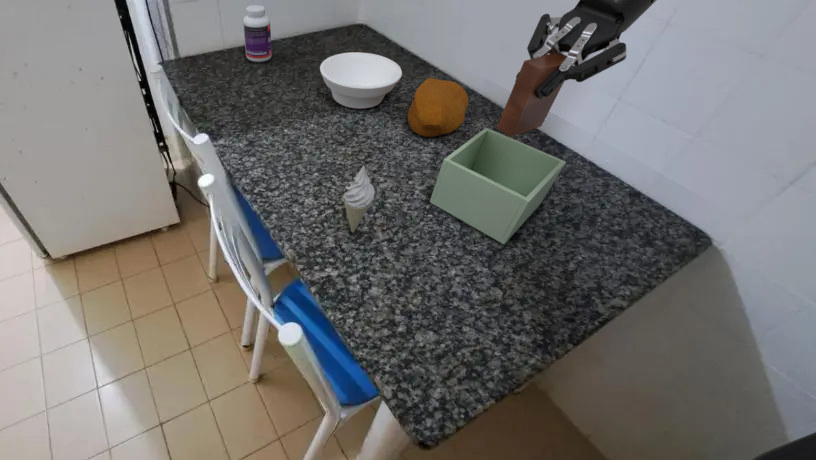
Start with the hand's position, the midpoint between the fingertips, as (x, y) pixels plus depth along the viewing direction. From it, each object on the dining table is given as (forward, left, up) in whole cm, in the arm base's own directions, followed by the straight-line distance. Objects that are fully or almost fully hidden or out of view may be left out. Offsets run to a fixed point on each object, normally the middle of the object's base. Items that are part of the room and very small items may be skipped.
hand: (528, 89), depth 58 cm
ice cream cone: (+12, +22, -25) cm, 35 cm away
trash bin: (-1, -3, -25) cm, 25 cm away
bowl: (+44, -17, -25) cm, 54 cm away
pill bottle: (+82, -14, -25) cm, 87 cm away
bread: (+22, -22, -25) cm, 40 cm away
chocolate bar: (-1, -2, -7) cm, 7 cm away
